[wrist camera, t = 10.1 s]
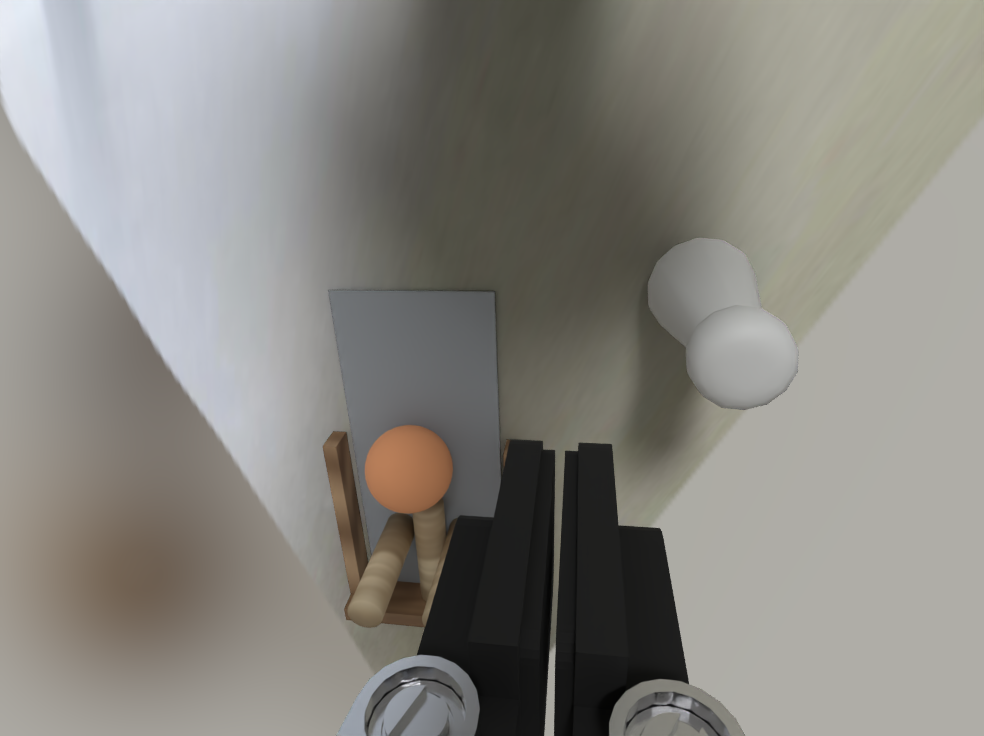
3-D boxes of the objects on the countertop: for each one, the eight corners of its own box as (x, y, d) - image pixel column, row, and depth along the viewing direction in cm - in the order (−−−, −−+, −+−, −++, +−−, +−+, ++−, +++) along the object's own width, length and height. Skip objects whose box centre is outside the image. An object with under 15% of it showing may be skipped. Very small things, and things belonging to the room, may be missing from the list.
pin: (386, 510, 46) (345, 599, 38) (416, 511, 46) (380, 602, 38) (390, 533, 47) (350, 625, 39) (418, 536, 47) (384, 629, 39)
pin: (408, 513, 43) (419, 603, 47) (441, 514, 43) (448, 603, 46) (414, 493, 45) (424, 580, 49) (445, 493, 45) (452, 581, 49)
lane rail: (333, 431, 43) (314, 458, 40) (520, 440, 41) (515, 468, 38) (361, 586, 50) (346, 619, 47) (523, 600, 48) (519, 636, 45)
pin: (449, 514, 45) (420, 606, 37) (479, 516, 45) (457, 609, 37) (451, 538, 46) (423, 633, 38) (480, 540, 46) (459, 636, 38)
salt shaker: (743, 318, 35) (821, 431, 24) (646, 327, 37) (675, 439, 25) (745, 221, 33) (832, 295, 21) (641, 234, 34) (670, 311, 23)
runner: (329, 289, 38) (328, 290, 38) (494, 291, 37) (494, 292, 37) (377, 582, 50) (376, 584, 49) (505, 593, 48) (505, 595, 48)
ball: (357, 525, 40) (388, 464, 45) (441, 538, 39) (464, 475, 44) (343, 460, 37) (378, 402, 41) (434, 473, 36) (460, 412, 40)
